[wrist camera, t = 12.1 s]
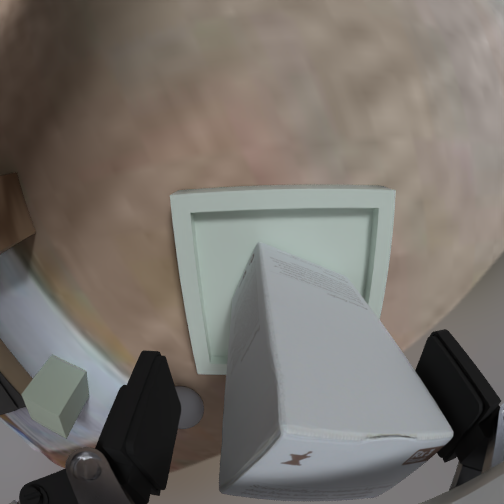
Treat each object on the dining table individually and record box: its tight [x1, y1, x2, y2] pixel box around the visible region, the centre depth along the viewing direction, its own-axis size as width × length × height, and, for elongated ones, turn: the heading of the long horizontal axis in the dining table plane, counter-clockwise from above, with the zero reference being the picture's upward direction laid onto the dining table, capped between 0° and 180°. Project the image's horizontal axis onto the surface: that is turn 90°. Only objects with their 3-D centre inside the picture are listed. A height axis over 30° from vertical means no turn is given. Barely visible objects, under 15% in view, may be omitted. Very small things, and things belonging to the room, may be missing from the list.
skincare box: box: [219, 242, 453, 501], centre depth 11 cm, size 6×4×12 cm
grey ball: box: [175, 386, 204, 429], centre depth 20 cm, size 4×4×4 cm
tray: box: [170, 185, 396, 375], centre depth 17 cm, size 12×12×2 cm
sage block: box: [21, 354, 89, 439], centre depth 19 cm, size 4×4×6 cm
